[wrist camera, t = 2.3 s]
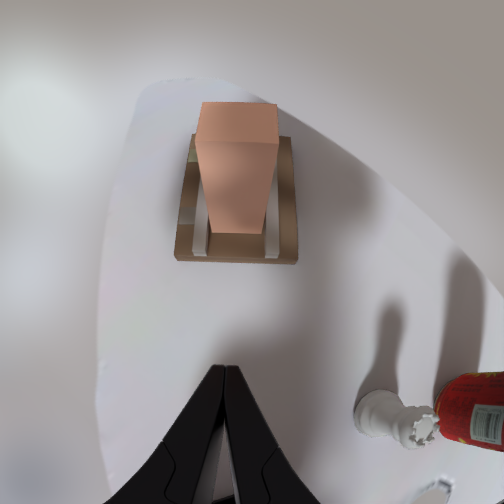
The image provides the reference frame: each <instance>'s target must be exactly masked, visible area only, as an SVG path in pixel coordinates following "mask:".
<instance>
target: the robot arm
mask: <svg viewBox="0 0 504 504" xmlns="http://www.w3.org/2000/svg"><path fill="white" fill-rule="evenodd" d="M224 425H225V430H226V438H227V446H228V454H229V461H230V468H231V475H232V482H233V488H234V495H232V496H229V497H226V498H223V499H220V500H216V501H213V502H212V497H213V491H214V485H215V480H216V474H217V468H218V462H219V456H220V450H221V444H222V438H223V432H224ZM103 504H320V502H319V501H318V500H317V499H316V498H315V497H314V495H313V494H312V493H311V492H310V491H309V489H308V488H307V487H306V486H305V485H304V483H303V482H302V481H301V480H300V478H299V477H298V476H297V474H296V473H295V471H294V470H293V469H292V467H291V465H290V464H289V462H288V461H287V459H286V457H285V456H284V454H283V452H282V450H281V448H280V447H279V445H278V443H277V441H276V439H275V437H274V436H273V434H272V432H271V430H270V428H269V426H268V424H267V422H266V420H265V418H264V416H263V415H262V413H261V411H260V409H259V407H258V405H257V403H256V401H255V399H254V397H253V395H252V393H251V391H250V389H249V387H248V384H247V382H246V380H245V378H244V376H243V374H242V372H241V370H240V368H239V366H237V365H227V366H226V367H225V366H224V365H216V364H214V365H212V366H211V367H210V369H209V371H208V372H207V374H206V375H205V377H204V378H203V380H202V381H201V383H200V384H199V386H198V387H197V389H196V390H195V392H194V393H193V395H192V396H191V398H190V399H189V401H188V402H187V404H186V405H185V407H184V408H183V410H182V411H181V413H180V414H179V416H178V417H177V419H176V420H175V422H174V423H173V425H172V426H171V428H170V429H169V431H168V432H167V433H166V435H165V436H164V438H163V439H162V441H161V442H160V443H159V445H158V446H157V448H156V449H155V451H154V452H153V453H152V455H151V456H150V457H149V459H148V460H147V461H146V462H145V463H144V465H143V466H142V467H141V468H140V469H139V470H138V471H137V472H136V473H135V474H134V475H133V476H132V478H131V479H130V480H129V481H128V482H127V483H126V484H125V485H124V486H123V487H122V488H121V489H120V490H119V491H118V492H117V493H116V494H114V495H113V496H112V497H111V498H110V499H109V500H108V501H106V502H105V503H103ZM497 504H504V499H503V500H502V501H500V502H498V503H497Z"/></svg>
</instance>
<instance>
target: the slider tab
mask: <svg viewBox="0 0 504 504" xmlns="http://www.w3.org/2000/svg"><path fill="white" fill-rule="evenodd" d="M195 146H196V152H197V157H198V163H199V168H200V174H201V179H202V184H203V190H204V195H205V200H206V205H207V210H208V215H209V220H210V225H211V230H212V233H246V234H261V233H262V228H263V223H264V218H265V213H266V208H267V203H268V198H269V193H270V188H271V183H272V178H273V173H274V168H275V163H276V158H277V153H278V148H279V131H278V115H277V105H276V104H266V103H245V102H202V107H201V112H200V117H199V122H198V127H197V132H196V137H195Z"/></svg>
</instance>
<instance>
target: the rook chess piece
mask: <svg viewBox="0 0 504 504" xmlns="http://www.w3.org/2000/svg"><path fill="white" fill-rule="evenodd" d="M439 420H440V418H439V416H438V415H436V414H435V412H434V410H433V409H432V408H431V407H429V406H420V407H418V408H417V407H415V406H408V407H405V406H404V405H403V403H402V401H401V400H400V398H399V396H397V395H396V394H394V393H393V392H391V391H388V390H382V389H377V390H375V391H372V392H369V393H368V394H367V395H366V396H365V397H363V398H362V399H361V401H360V402H359V404H358V405H357V407H356V410H355V414H354V423H355V427H356V428H357V429H358V431H359V432H360V433H362V434H364V435H366V436H369V437H383V436H387V435H390V436H393V438H394V439H395V440H397V441H399V442H400V443H401V444H402V446H403V447H404V448H406V449H409V450H410V449H416V448H422V447H424V446H425V443H428V444H430V443H431V442H432V441H433V440H434V439H435V438H434V437H432V435H433V433H434V432H439V429H440V426H439V425H437V424H436V422H438V421H439Z"/></svg>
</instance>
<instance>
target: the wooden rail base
mask: <svg viewBox="0 0 504 504" xmlns="http://www.w3.org/2000/svg"><path fill="white" fill-rule="evenodd" d="M195 137H196V134H192V138H191V143H190V148H189V154H188V159H187V165H186V170H185V176H184V183H183V189H182V195H181V202H180V209H179V216H178V224H177V232H176V240H175V249H174V256H175V258H176V259H177V261H199V262H230V263H264V264H295V263H296V262H297V260H298V241H297V221H296V203H295V188H294V174H293V161H292V149H291V138H290V137H285V136H279V148H278V153H277V158H276V163H275V168H274V173H273V178H272V183H271V188H270V193H269V198H268V203H267V208H266V213H265V218H264V223H263V228H262V233H261V234H246V233H212V230H211V225H210V220H209V215H208V210H207V205H206V200H205V195H204V190H203V184H202V179H201V174H200V168H199V163H198V157H197V152H196V146H195Z"/></svg>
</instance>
